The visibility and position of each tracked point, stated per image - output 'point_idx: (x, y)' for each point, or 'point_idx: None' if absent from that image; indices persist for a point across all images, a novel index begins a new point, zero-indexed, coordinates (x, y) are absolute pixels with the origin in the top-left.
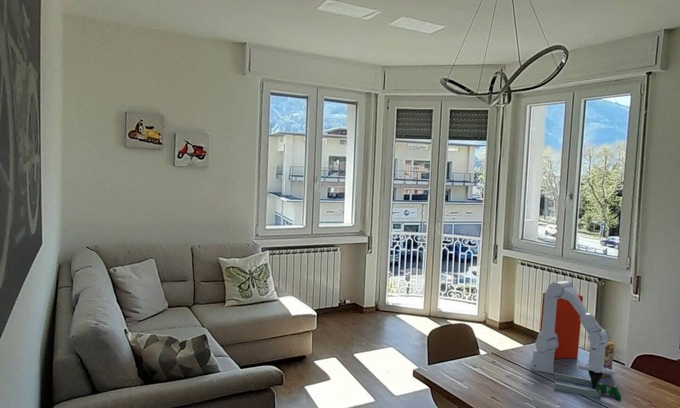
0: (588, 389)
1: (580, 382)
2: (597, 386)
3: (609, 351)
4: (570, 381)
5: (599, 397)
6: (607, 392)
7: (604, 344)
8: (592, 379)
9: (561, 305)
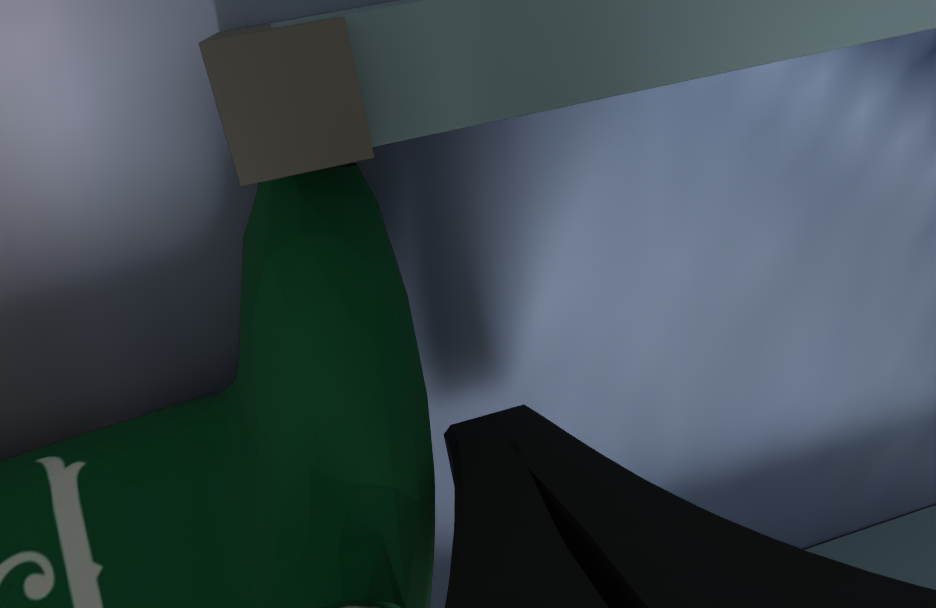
0: (685, 34)
1: None
2: (414, 502)
3: None
4: (927, 518)
5: (248, 28)
6: (60, 462)
7: None
8: (738, 571)
9: None
